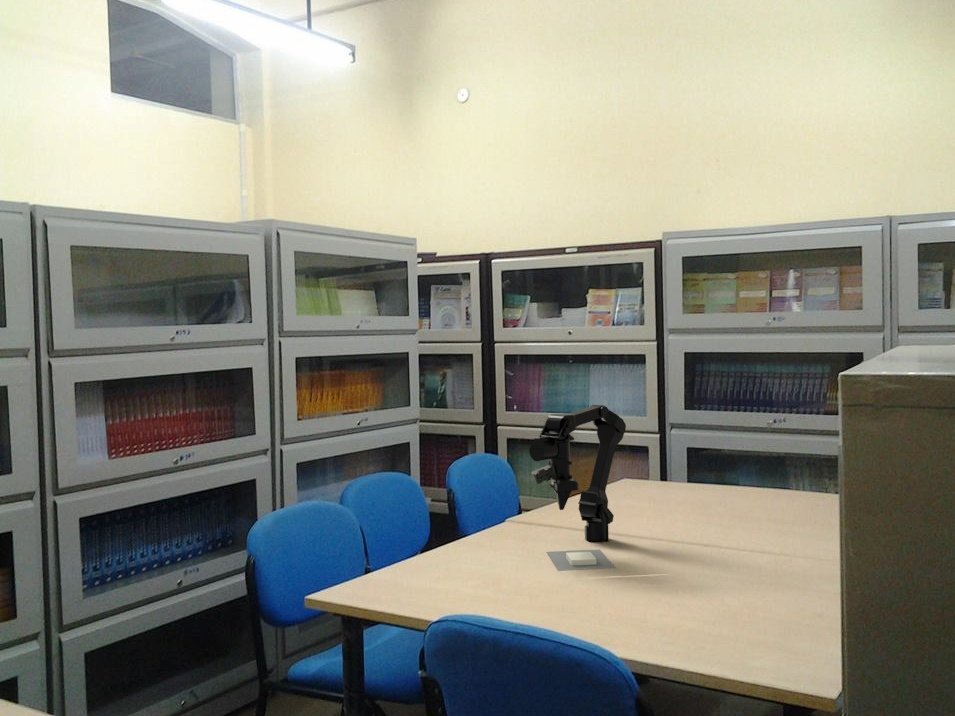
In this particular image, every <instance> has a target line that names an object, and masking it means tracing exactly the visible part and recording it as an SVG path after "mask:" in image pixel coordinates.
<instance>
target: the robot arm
mask: <svg viewBox="0 0 955 716" xmlns="http://www.w3.org/2000/svg"><path fill="white" fill-rule="evenodd" d="M591 422H592V424H593V425H594V426H595V427H596V428H597V429H596V435H597V436H596V437H597V439H598V442H599V445H598V449H597V454H596V458H595V462H594V465H593V470H592V474H591V475H592V476H591V478H590V484H589V487H588V488H587V489H586V491H584V490H582V491H581V492H580V495H579V496H580V497H579V501H578V511H579V514H580V518H581V521H583V522H584V521H585V523H586V525H584V539H585V541H587V542H588V543H609V542H611V541H610V540H609V525H610V524H611V523H613V522H614V514H613V512H612V511H611V510H610V508H608V507H609V500H608V496H607V493H606V490H607V485H608V481H609V476H610V472H611V469H612V468H611V467H612V463H613V459H614V454H615V451H616V447H617V445H619V443H620V442H621V441H622V440H623V438H624V435H625V432H626V429H627V425H626V422H625V421H624V419H623V418H622V417H621V416H619V415H618V414H617V413H615V412H613V411H611V410H610V409H609V408H608V407H607V406H606V405H603V404H592V405H590V406H587V407H585V408H582V409H579V410H575V411H572V412H570V413H552V414H549V415H548V416H547V419H546V420H545V422H544V425H543V427H542V430H541V432H540V433H539V437H538V436H537V437H534V438H533V439H534V441H533V442H532V443H531V444H530V446H529V450H528V451H529V456H530V458H531V459H532V460H533V461H535V462H542V461H543V462H544V461H547V460H548V461H547V465H545V466H541V467H540V468H537V469H534V470H533V471H531V475H532V478H533V481H534V483H536V485H539V484H542V483H543V482H546V483H548V482H549V481H551V484H548V486H549V487H550V488H551V489H552V490H553V491H554V494H555V497H556V501H557V505H558V509H559V510H560V511H563V510H565V507H566V505H567V503H568V500H569V498H570V495H571V493H572V491H573V492H574V491H579V483H578V482H577V481H576V480H575V479H574V478H573V475H572V474H571V466H572V465H573V463H572V460H571V454H570V453H571V450H570V449H571V446H570V441H575V437H573V435H571V433H574V431H576V428H577V427H579V426H582V425H585V424H587V423H591Z"/></svg>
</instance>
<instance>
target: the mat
mask: <svg viewBox="0 0 955 716" xmlns="http://www.w3.org/2000/svg"><path fill="white" fill-rule="evenodd" d="M545 552H546V554H547V556H548V557H549V559H550V561H551V562H552V564H553V565H554V567H555V569H556V570H557V572H561V571H580V570H581V571H582V570H583V571H584V570H586V571H587V570H605V569H617V567H616V566H615V565H614V564H613V563H612V562H611V560H610V559H609V558H608V557H607V556H606V555H605V554H604V553H603V551H602V550H601V549H579V550H557V551H556V550H555V551H545ZM572 552H591V553H592V554H593V556H594V557H595V558H596V563H597V564H595V565H573V566H571V564H570V563H569V561H568V560H567V558H566V553H572Z"/></svg>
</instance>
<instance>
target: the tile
mask: <svg viewBox="0 0 955 716" xmlns="http://www.w3.org/2000/svg"><path fill="white" fill-rule="evenodd" d="M566 558H567V560H568V561H569V563H570V564H571V566H573V565H595V564H597V563H596V558H595V557H594V556H593V554H592V553H591V552H572V553H566Z"/></svg>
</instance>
